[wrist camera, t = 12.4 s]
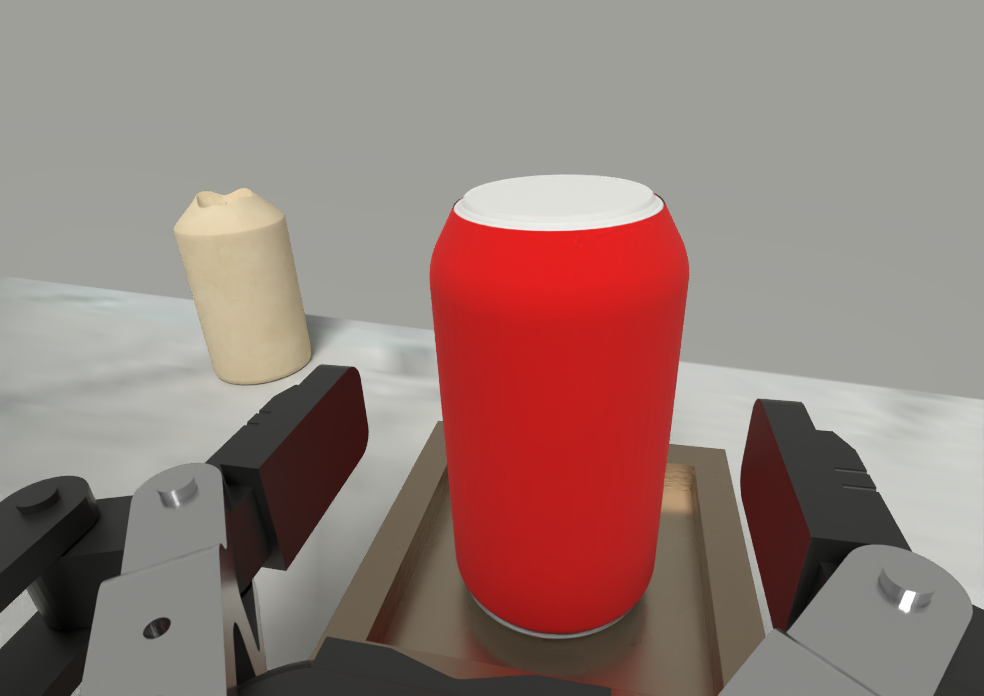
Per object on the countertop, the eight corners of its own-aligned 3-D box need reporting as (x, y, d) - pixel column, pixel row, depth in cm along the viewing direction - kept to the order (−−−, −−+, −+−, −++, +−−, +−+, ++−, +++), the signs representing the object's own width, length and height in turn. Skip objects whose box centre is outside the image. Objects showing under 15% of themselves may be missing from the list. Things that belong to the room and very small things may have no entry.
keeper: (300, 736, 15) (284, 683, 14) (437, 457, 26) (433, 416, 25) (794, 851, 13) (815, 797, 12) (723, 490, 23) (732, 445, 22)
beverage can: (429, 632, 17) (374, 223, 11) (489, 491, 22) (471, 167, 17) (646, 683, 15) (703, 236, 10) (655, 518, 20) (695, 168, 15)
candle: (193, 378, 33) (139, 202, 29) (258, 337, 38) (220, 181, 33) (272, 392, 31) (228, 207, 27) (330, 348, 36) (300, 184, 31)
